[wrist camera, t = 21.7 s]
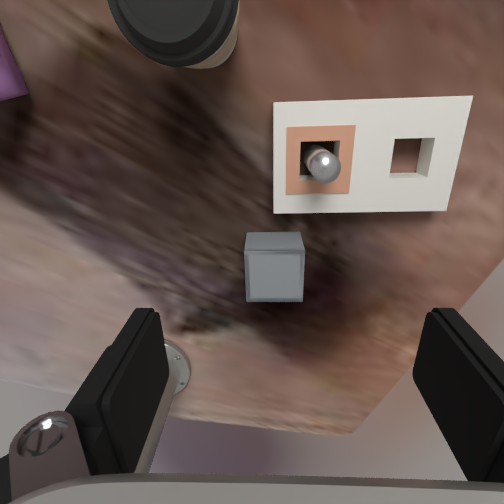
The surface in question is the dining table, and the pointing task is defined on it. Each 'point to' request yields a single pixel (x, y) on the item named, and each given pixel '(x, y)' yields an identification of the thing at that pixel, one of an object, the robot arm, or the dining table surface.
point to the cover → (274, 267)
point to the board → (368, 153)
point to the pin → (322, 163)
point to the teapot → (10, 74)
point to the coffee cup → (180, 29)
